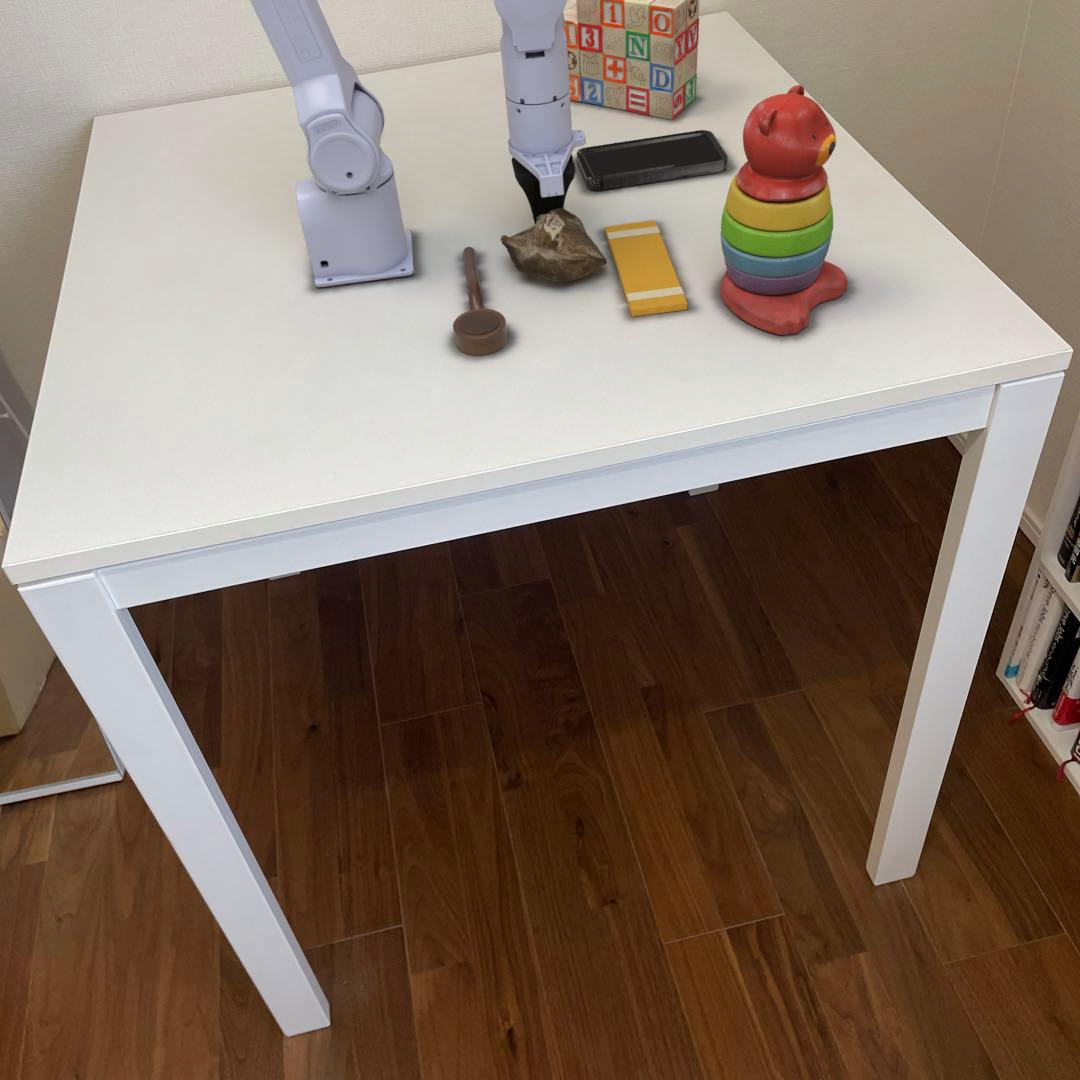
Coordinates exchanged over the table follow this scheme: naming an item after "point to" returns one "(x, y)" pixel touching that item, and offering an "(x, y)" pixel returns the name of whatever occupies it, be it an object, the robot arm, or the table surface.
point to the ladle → (478, 317)
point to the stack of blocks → (633, 54)
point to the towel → (645, 269)
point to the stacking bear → (781, 217)
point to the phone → (651, 160)
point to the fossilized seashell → (555, 248)
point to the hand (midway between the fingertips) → (548, 230)
